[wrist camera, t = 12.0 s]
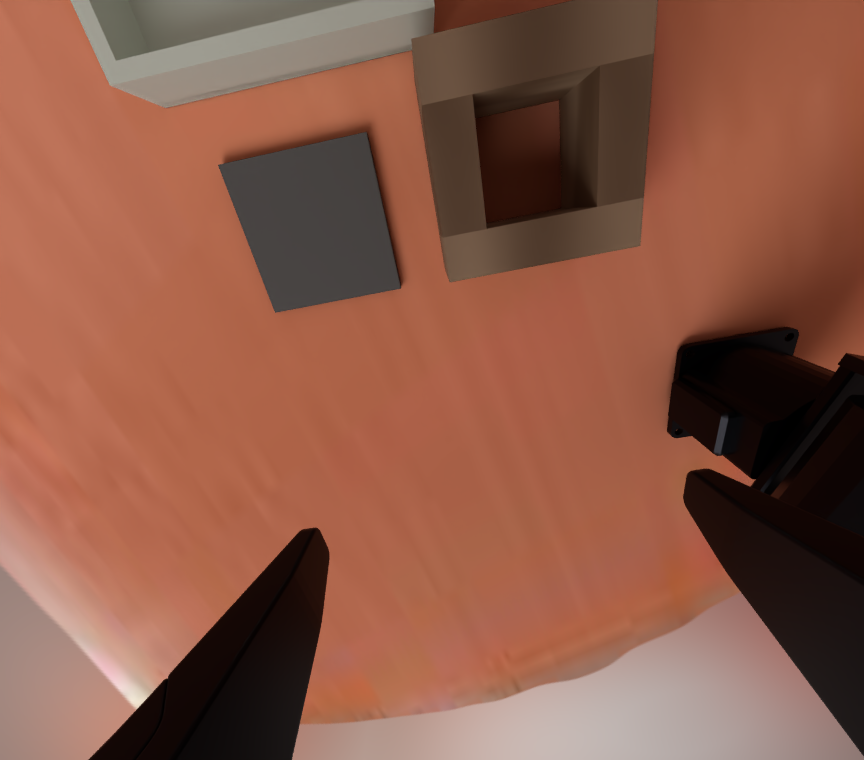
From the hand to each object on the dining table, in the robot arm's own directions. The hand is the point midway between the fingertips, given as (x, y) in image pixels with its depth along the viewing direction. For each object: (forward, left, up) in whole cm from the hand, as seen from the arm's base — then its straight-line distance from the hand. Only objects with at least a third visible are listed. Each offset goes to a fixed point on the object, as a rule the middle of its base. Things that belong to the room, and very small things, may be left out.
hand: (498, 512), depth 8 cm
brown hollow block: (-4, -8, -13) cm, 16 cm away
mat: (+6, -7, -13) cm, 16 cm away
